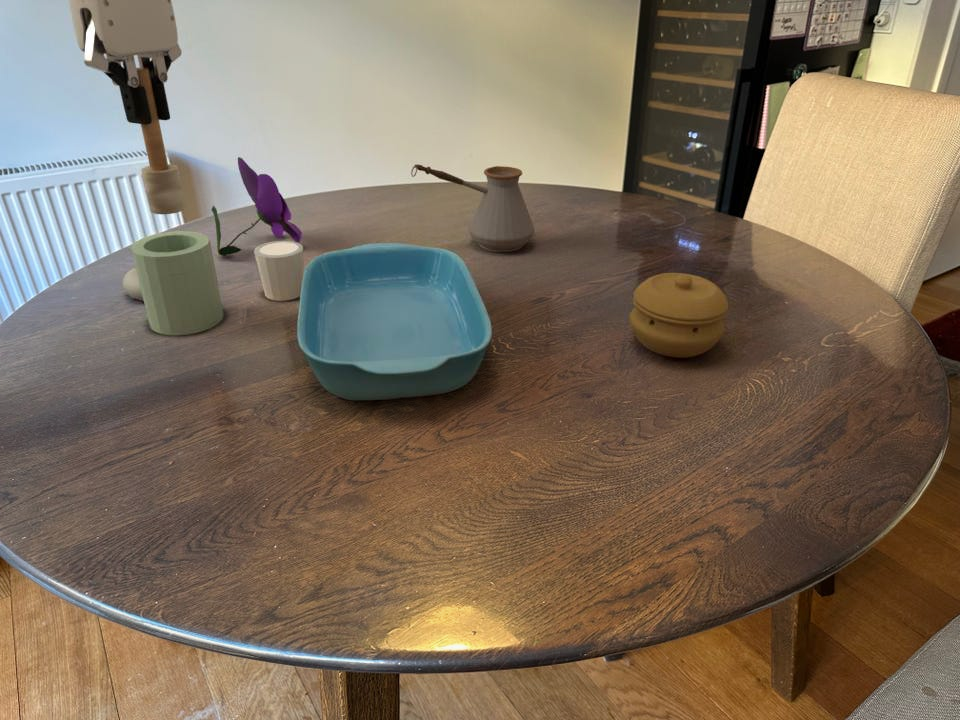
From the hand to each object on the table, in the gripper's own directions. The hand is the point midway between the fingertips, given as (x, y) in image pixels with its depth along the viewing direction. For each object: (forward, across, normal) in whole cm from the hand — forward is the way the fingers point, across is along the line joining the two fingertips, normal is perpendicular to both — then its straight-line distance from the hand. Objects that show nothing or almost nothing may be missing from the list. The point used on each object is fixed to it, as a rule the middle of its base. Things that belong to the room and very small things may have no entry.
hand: (149, 119), depth 80 cm
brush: (+11, 0, 0) cm, 11 cm away
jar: (+27, -2, -2) cm, 27 cm away
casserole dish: (+27, -8, +26) cm, 38 cm away
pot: (+27, -23, +59) cm, 69 cm away
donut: (+27, -7, -13) cm, 31 cm away
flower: (+27, -26, -11) cm, 39 cm away
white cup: (+27, -14, +4) cm, 31 cm away
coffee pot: (+27, -44, +21) cm, 56 cm away
